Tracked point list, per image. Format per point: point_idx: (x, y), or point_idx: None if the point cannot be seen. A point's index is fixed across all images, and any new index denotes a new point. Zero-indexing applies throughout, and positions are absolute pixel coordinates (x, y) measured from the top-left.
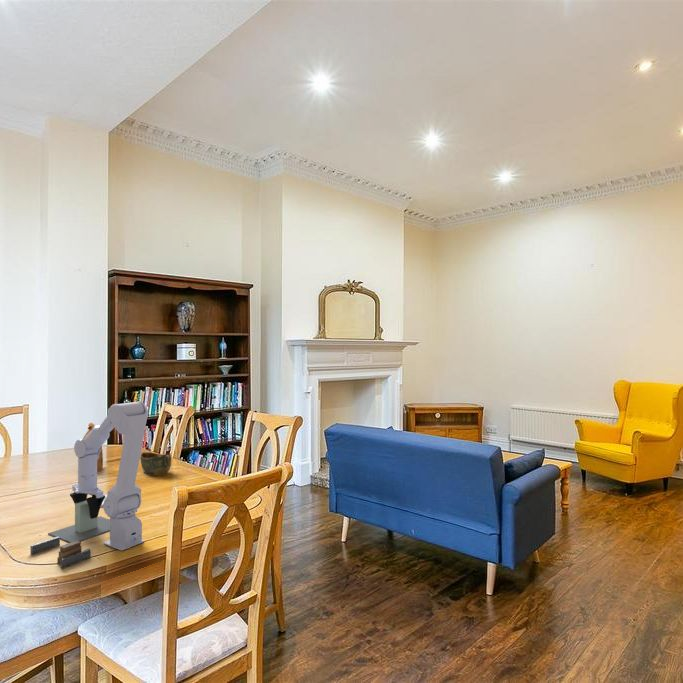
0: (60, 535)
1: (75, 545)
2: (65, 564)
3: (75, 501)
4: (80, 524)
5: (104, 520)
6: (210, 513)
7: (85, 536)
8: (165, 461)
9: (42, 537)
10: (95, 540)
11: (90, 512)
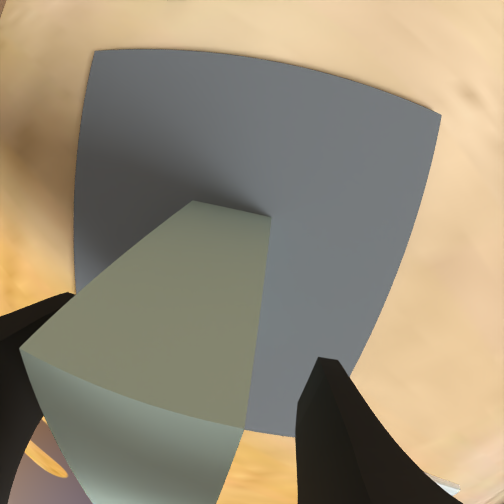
0: (305, 97)
1: None
2: None
3: (368, 486)
4: (165, 222)
5: None
6: (26, 452)
7: (100, 167)
8: None
9: (425, 58)
10: (33, 168)
11: (18, 314)
